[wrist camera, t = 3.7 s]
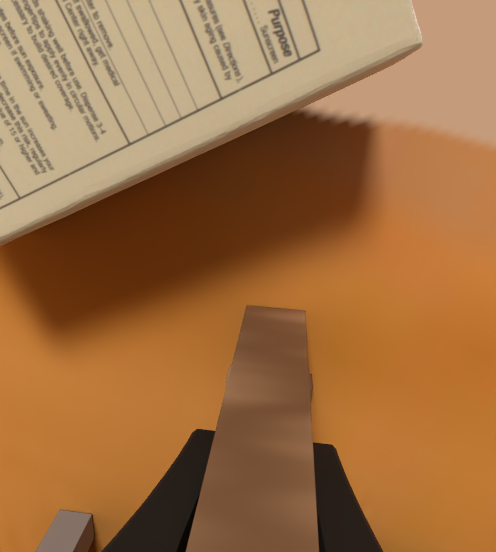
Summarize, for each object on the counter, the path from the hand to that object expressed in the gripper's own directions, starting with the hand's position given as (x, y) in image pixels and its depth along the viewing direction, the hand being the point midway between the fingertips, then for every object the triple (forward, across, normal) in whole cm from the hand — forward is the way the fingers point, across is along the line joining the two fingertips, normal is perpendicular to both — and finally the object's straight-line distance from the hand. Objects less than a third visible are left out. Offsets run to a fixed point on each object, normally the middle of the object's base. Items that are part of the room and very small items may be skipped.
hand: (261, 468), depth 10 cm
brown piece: (+5, 0, +4) cm, 7 cm away
